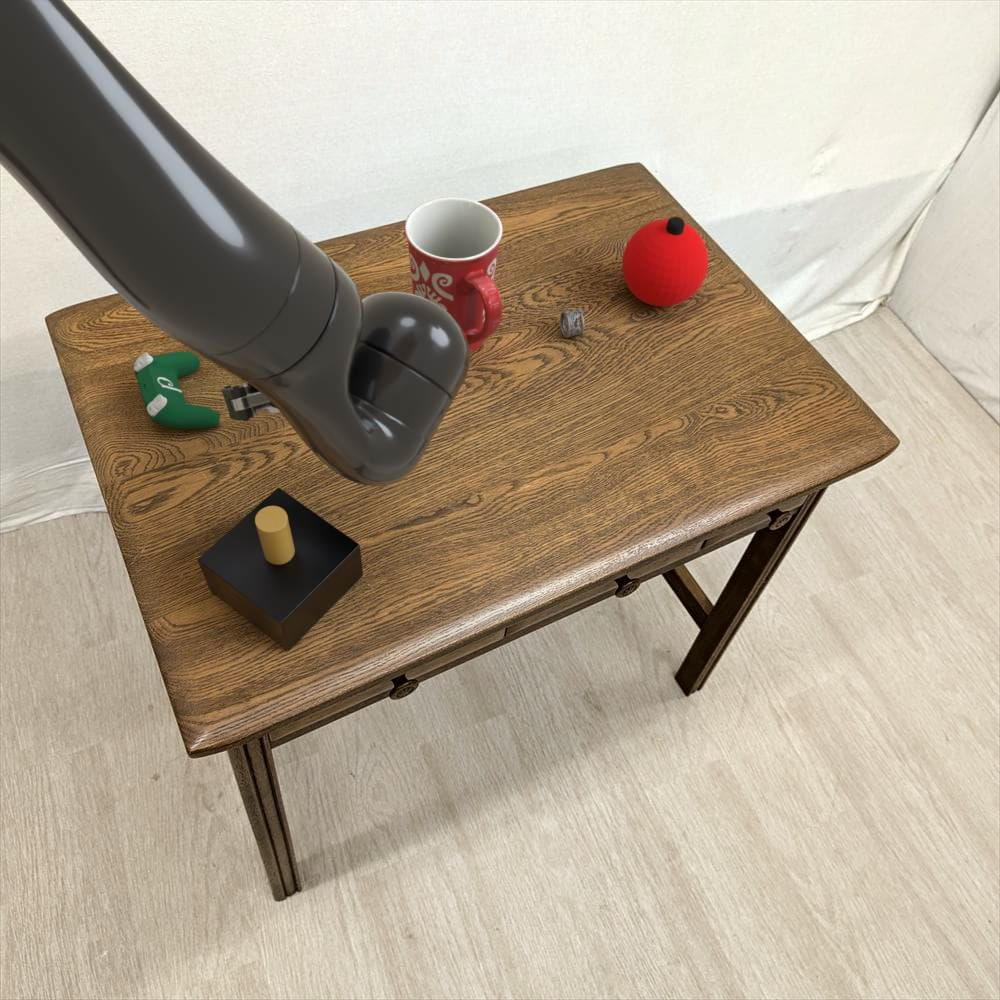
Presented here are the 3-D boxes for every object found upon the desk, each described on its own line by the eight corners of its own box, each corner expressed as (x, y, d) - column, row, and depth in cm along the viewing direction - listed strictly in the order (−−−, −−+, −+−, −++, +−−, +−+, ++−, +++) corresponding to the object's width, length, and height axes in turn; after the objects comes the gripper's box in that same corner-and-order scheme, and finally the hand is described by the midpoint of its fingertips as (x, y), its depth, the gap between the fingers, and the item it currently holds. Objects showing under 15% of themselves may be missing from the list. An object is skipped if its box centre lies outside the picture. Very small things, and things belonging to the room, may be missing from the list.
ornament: (710, 314, 98) (737, 240, 89) (637, 332, 95) (658, 258, 87) (672, 260, 102) (694, 185, 94) (601, 276, 100) (617, 201, 92)
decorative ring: (582, 341, 94) (587, 320, 92) (565, 343, 94) (569, 322, 91) (574, 322, 95) (579, 301, 93) (558, 324, 95) (561, 303, 93)
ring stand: (288, 651, 72) (272, 593, 64) (209, 589, 75) (183, 526, 67) (363, 575, 76) (356, 511, 68) (285, 519, 79) (270, 451, 71)
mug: (392, 316, 94) (388, 209, 83) (469, 293, 97) (476, 186, 86) (444, 400, 88) (447, 297, 77) (525, 373, 91) (539, 269, 80)
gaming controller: (179, 378, 89) (123, 361, 85) (200, 352, 88) (145, 333, 83) (203, 447, 85) (146, 432, 80) (226, 420, 83) (169, 404, 79)
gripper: (412, 307, 66) (366, 317, 81) (218, 358, 62) (207, 359, 77) (439, 406, 68) (389, 398, 83) (252, 462, 63) (235, 443, 78)
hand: (301, 379), depth 80 cm, fingers open, 8 cm apart
